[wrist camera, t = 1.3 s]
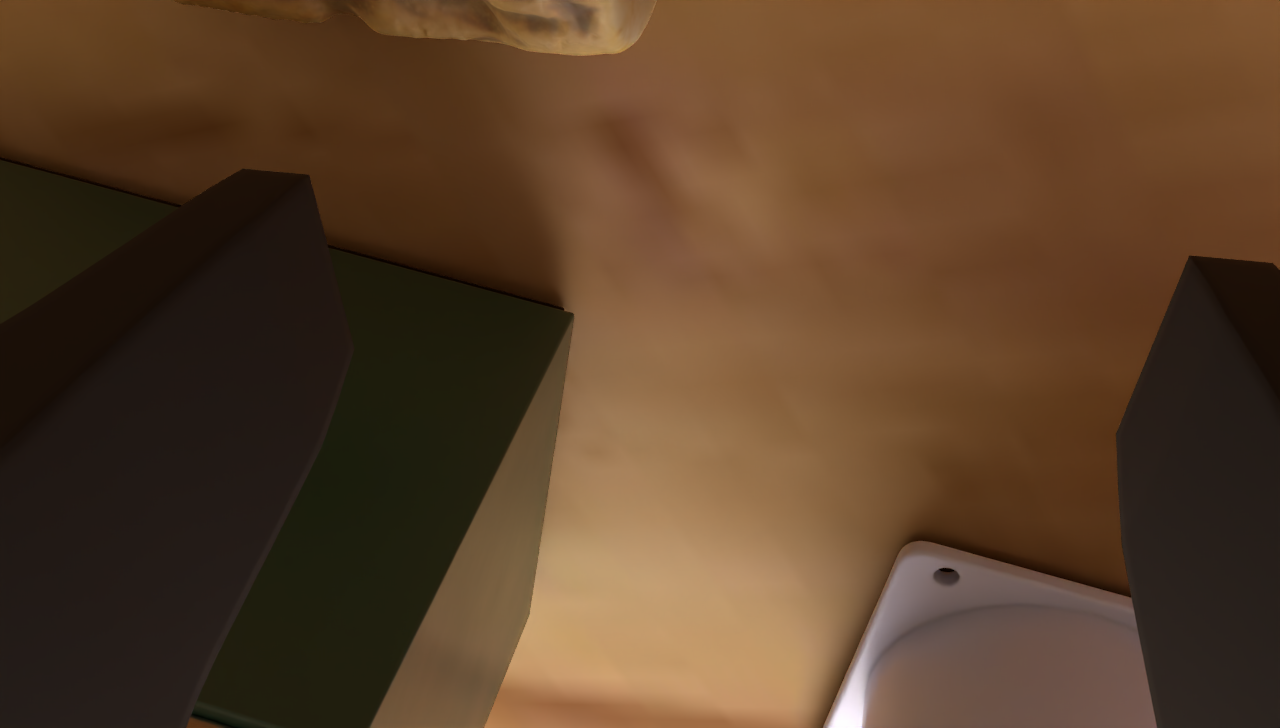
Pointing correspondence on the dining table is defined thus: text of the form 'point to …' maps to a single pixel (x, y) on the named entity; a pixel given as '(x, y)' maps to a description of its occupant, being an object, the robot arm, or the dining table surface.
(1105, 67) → the dining table surface
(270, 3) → the tan cylinder with hole
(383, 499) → the toaster
